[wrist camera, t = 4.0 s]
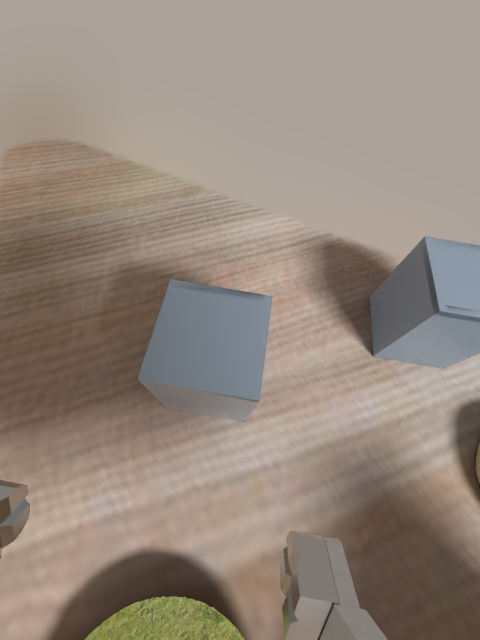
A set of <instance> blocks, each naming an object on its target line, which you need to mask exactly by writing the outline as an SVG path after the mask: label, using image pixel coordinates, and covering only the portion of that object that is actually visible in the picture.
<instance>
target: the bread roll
mask: <svg viewBox="0 0 480 640" xmlns="http://www.w3.org/2000/svg"><path fill="white" fill-rule="evenodd" d="M476 474H477V477H478V481H479V484H480V442H479V446H478V450H477V457H476Z"/></svg>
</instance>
